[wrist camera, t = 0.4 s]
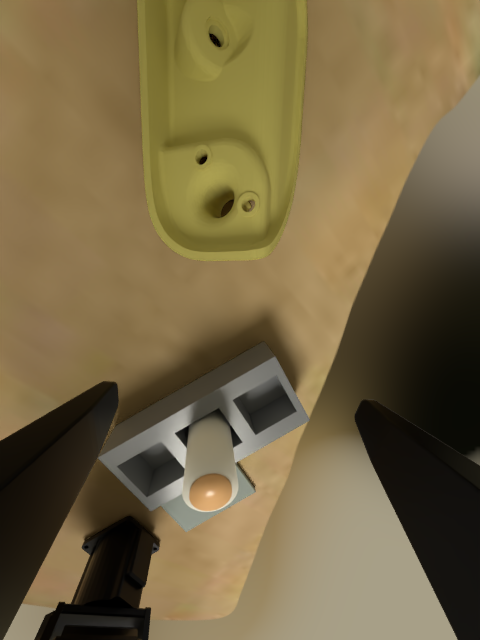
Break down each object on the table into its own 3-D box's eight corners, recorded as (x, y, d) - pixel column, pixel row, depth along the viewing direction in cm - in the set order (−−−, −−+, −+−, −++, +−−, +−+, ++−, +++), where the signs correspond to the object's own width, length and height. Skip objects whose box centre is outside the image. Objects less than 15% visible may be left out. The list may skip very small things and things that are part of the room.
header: (159, 474, 26) (150, 511, 22) (115, 425, 23) (97, 457, 20) (294, 396, 26) (310, 420, 22) (263, 341, 23) (275, 356, 20)
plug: (202, 438, 24) (201, 525, 16) (182, 412, 23) (170, 491, 15) (234, 420, 24) (248, 497, 16) (216, 393, 23) (221, 461, 15)
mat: (186, 527, 28) (186, 532, 28) (149, 488, 26) (148, 492, 25) (254, 488, 28) (255, 491, 28) (223, 445, 26) (224, 449, 26)
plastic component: (133, -83, 13) (309, -180, 10) (194, 44, 20) (309, 7, 17) (146, 260, 16) (282, 261, 14) (195, 267, 23) (292, 269, 21)
